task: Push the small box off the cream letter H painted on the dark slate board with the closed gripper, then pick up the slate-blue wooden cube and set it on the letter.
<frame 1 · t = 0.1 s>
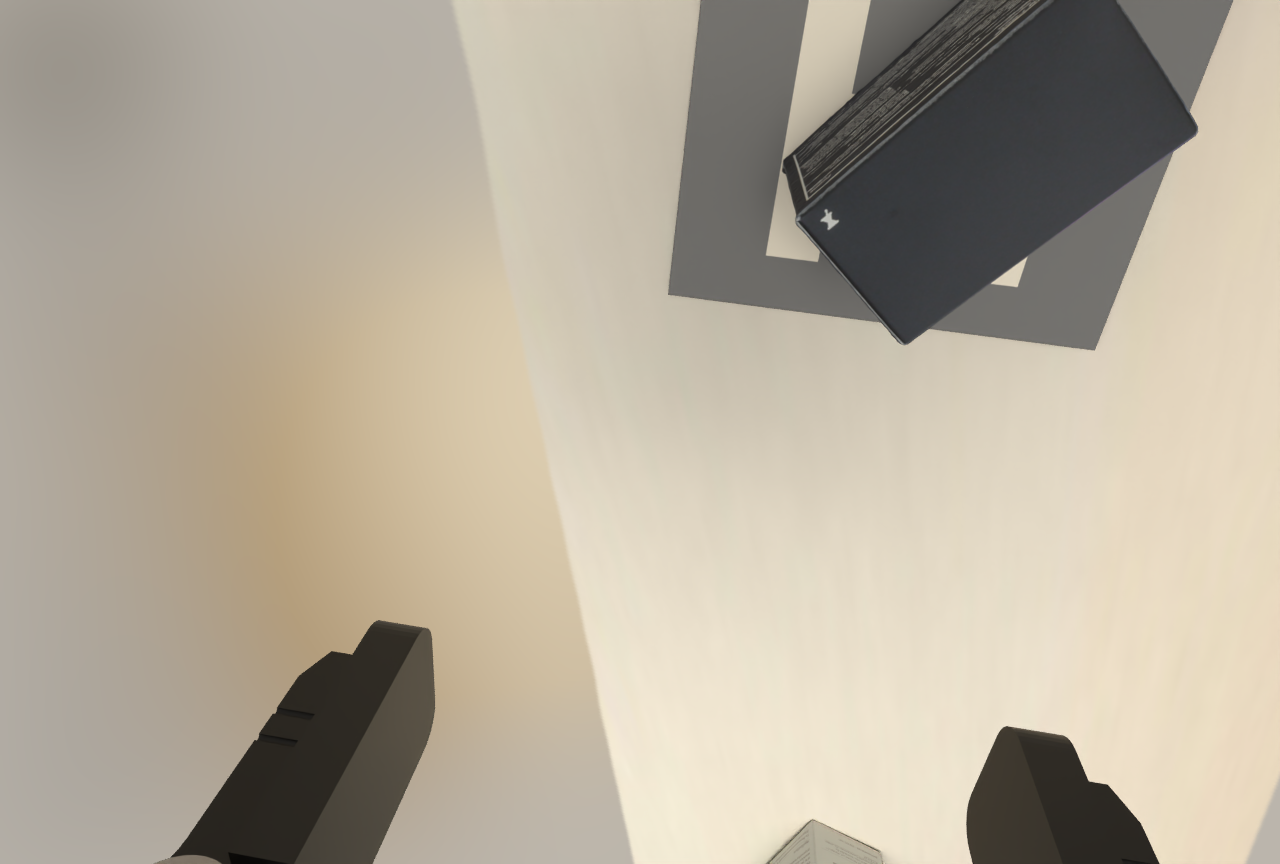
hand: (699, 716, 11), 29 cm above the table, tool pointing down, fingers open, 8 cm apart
letter board: (923, 132, 34), on the table
small box: (923, 132, 34), resting on letter board
skincare box: (815, 857, 57), on the table
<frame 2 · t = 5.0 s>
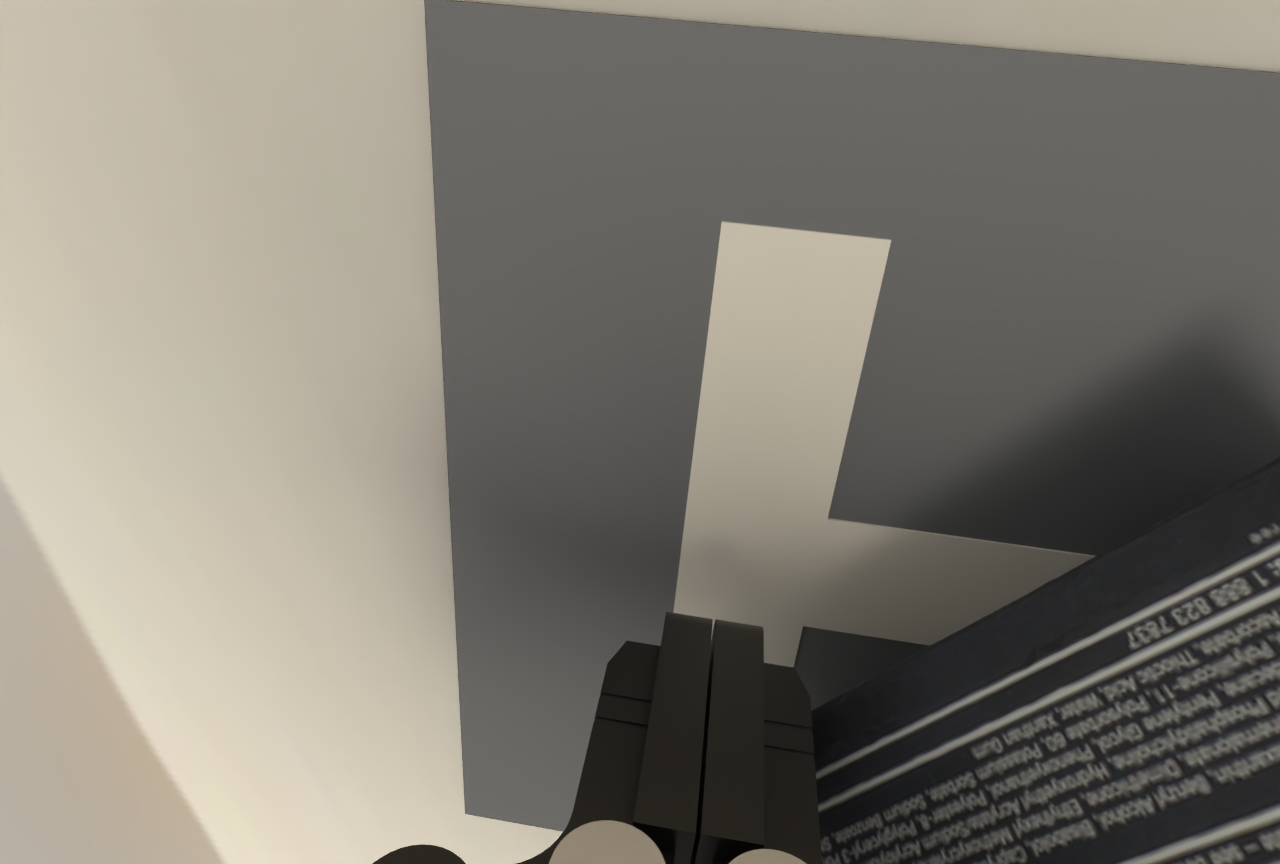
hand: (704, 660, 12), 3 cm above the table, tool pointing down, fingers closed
letter board: (1002, 593, 14), on the table
small box: (1034, 659, 13), point 1 cm above the table, touching gripper, hand
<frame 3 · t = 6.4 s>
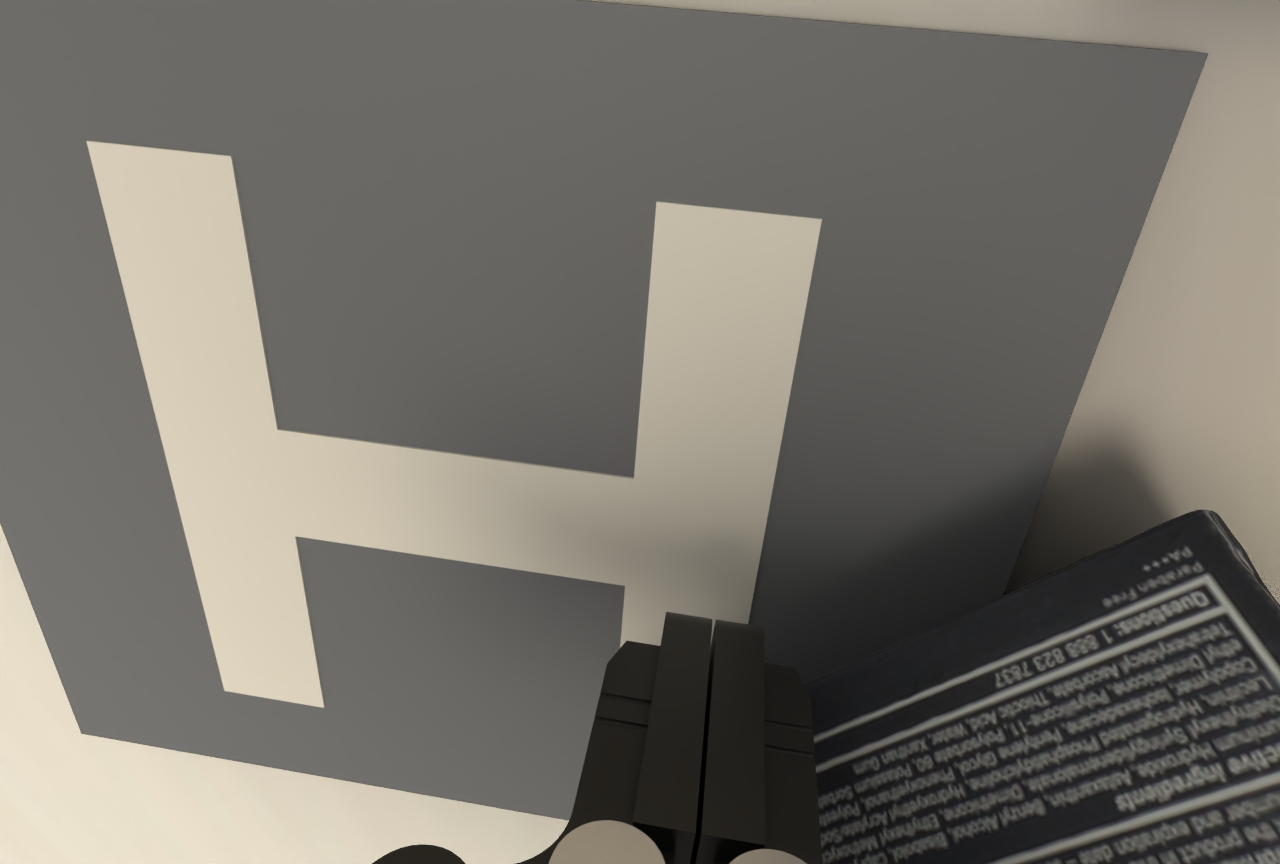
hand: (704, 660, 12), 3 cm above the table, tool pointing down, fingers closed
letter board: (459, 502, 15), on the table
small box: (922, 702, 14), point 1 cm above the table
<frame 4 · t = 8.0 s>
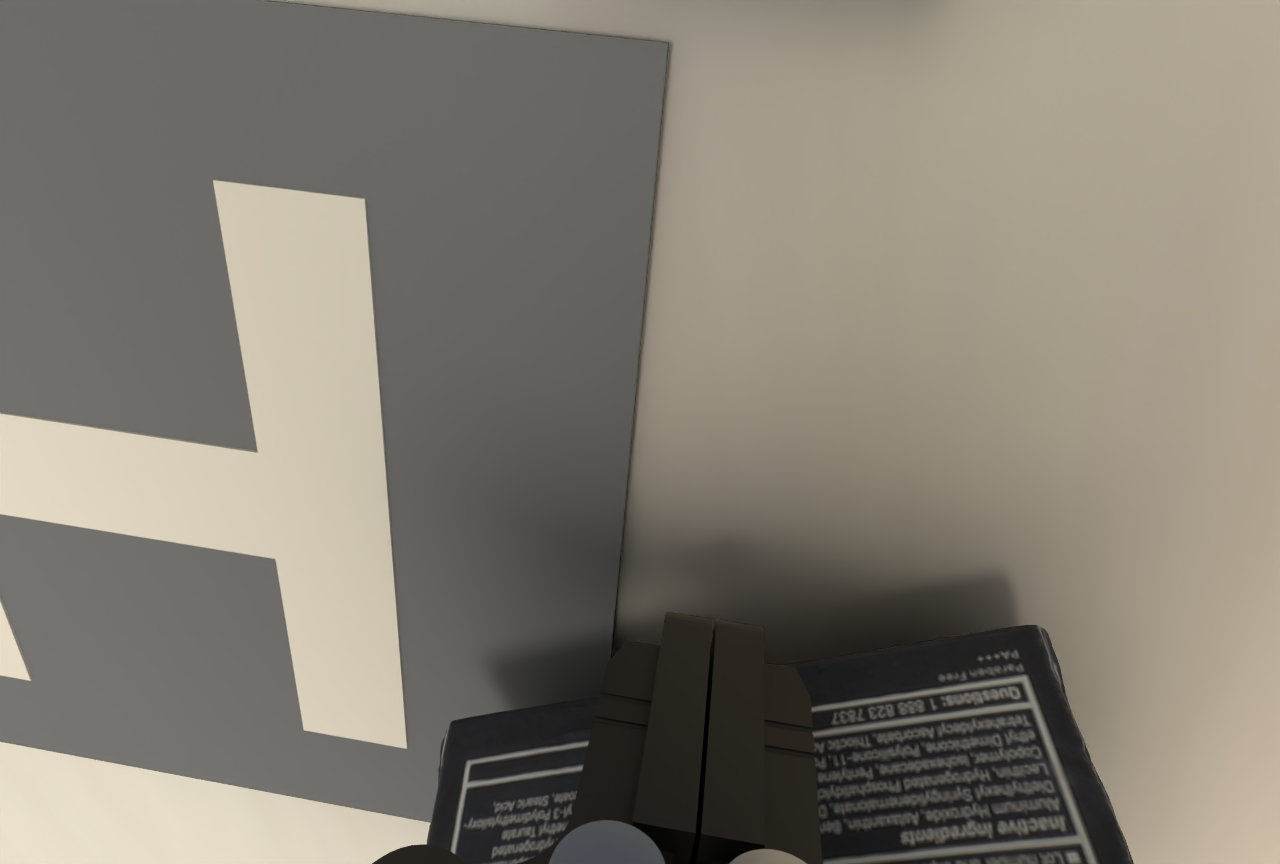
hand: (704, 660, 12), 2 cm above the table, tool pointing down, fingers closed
letter board: (112, 475, 15), on the table
small box: (759, 745, 15), point 1 cm above the table, touching gripper, hand, letter board
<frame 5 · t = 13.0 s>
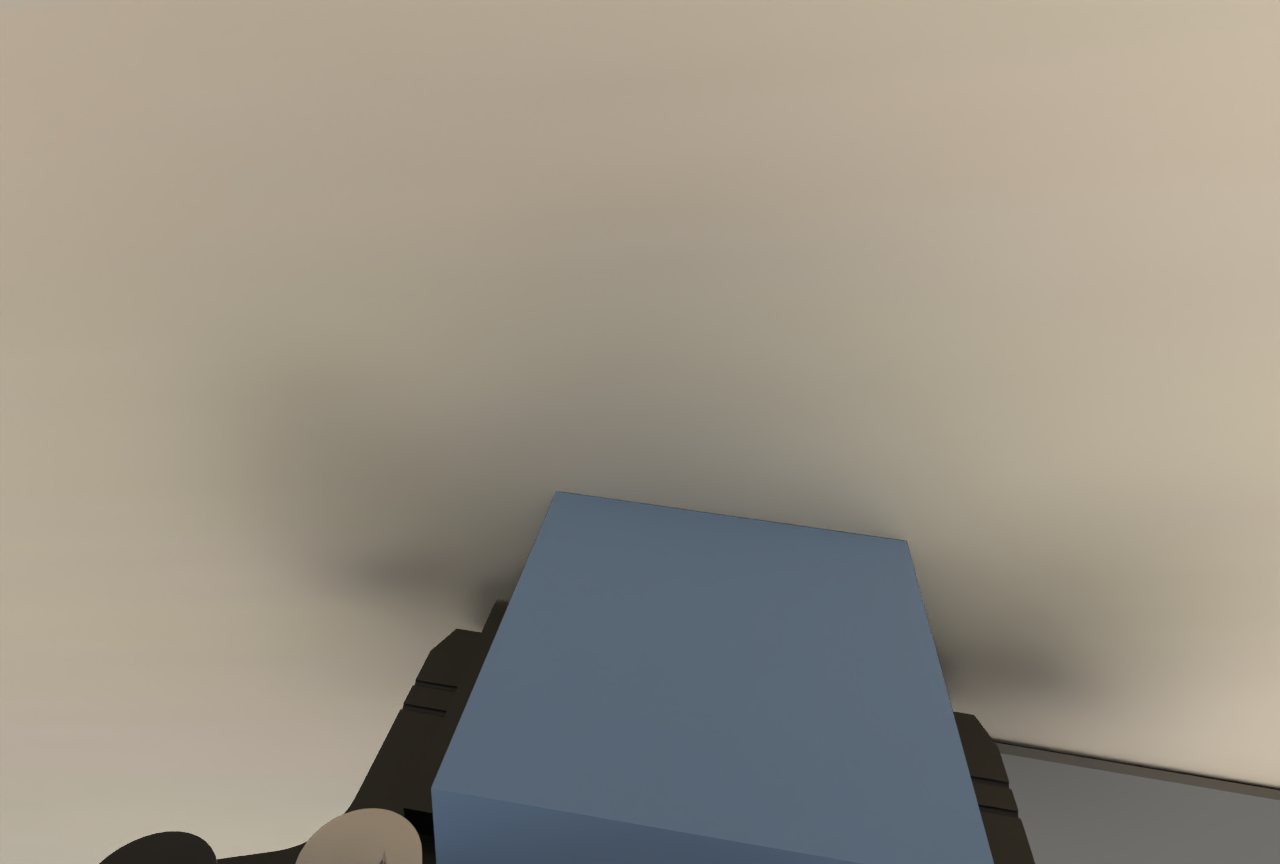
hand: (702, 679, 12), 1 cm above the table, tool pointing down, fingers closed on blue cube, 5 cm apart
blue cube: (707, 646, 13), on the table, touching gripper
when the fingers open (3 cm above the table, at t = 20.1 s): blue cube drops 2 cm, resting on letter board.
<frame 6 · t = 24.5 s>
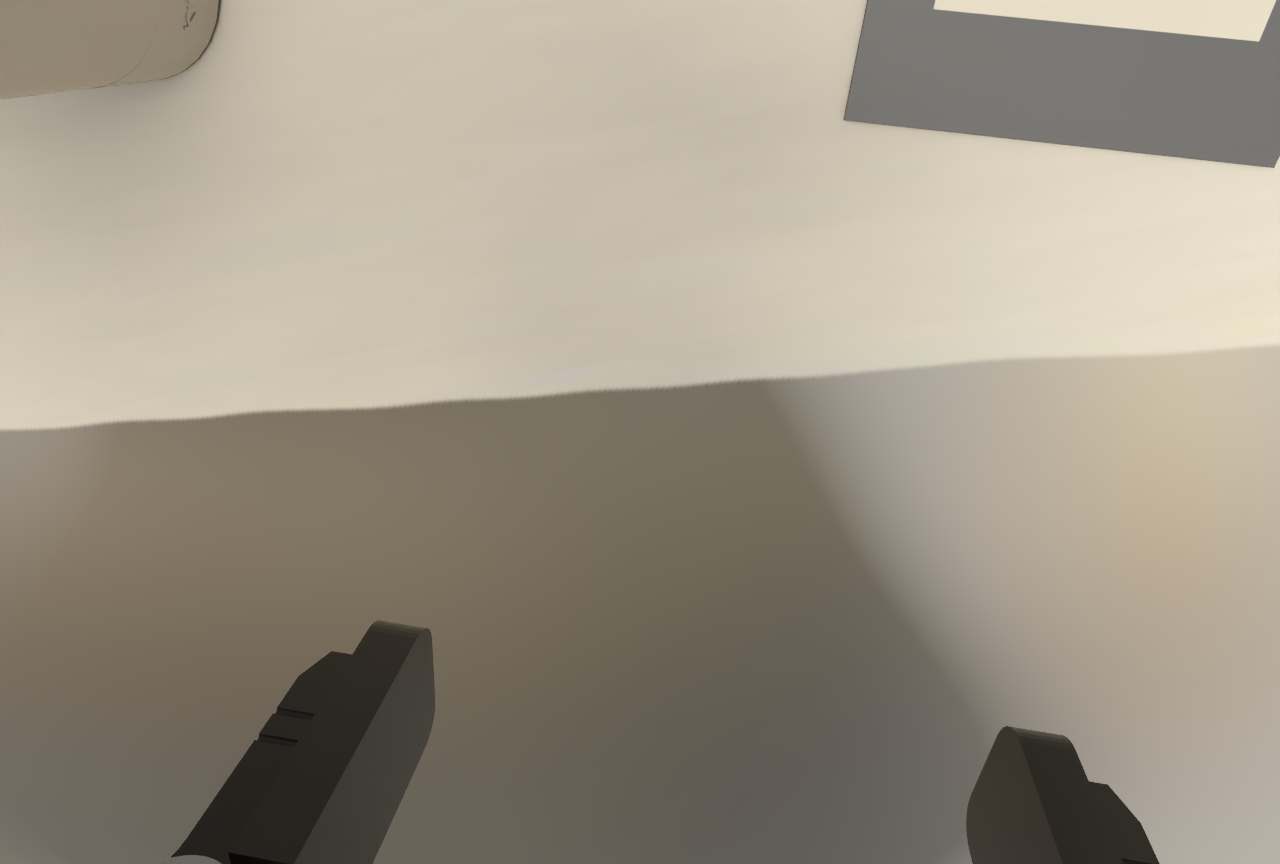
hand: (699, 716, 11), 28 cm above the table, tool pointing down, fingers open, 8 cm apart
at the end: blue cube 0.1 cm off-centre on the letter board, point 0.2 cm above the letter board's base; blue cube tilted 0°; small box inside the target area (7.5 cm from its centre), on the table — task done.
